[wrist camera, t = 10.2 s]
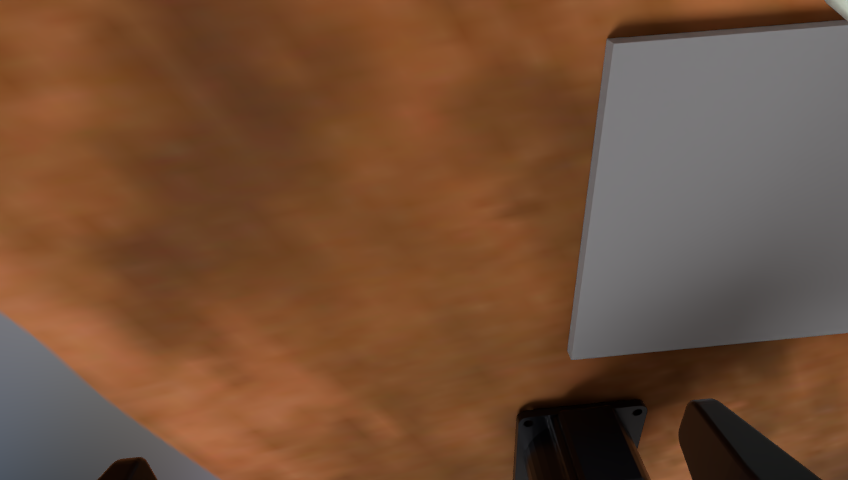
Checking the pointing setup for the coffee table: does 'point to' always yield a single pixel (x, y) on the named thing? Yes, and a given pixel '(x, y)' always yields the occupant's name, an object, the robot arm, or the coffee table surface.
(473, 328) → the coffee table surface
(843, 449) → the coffee table surface
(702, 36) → the mat
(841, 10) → the lid
